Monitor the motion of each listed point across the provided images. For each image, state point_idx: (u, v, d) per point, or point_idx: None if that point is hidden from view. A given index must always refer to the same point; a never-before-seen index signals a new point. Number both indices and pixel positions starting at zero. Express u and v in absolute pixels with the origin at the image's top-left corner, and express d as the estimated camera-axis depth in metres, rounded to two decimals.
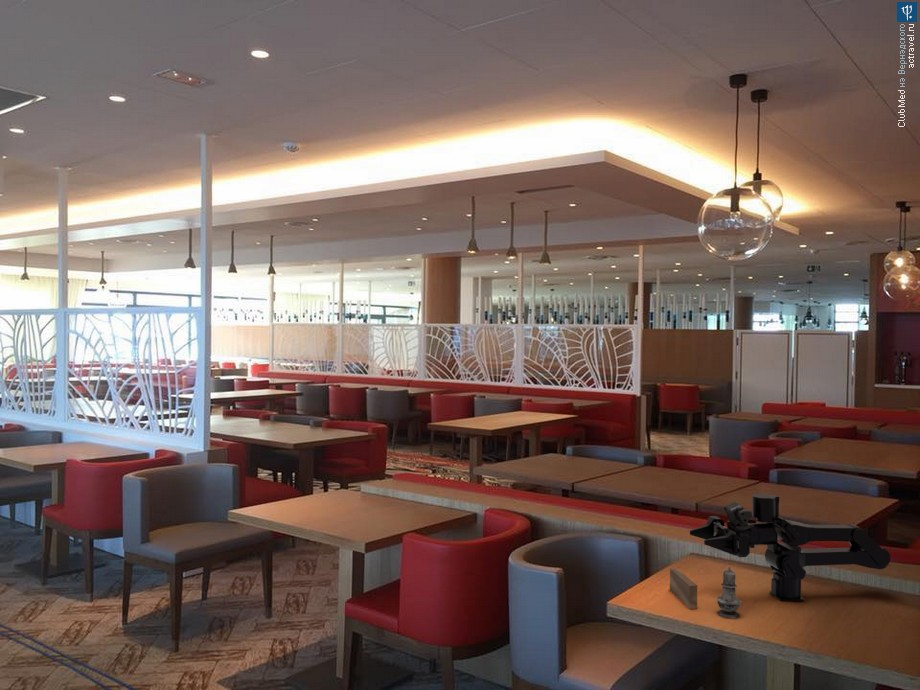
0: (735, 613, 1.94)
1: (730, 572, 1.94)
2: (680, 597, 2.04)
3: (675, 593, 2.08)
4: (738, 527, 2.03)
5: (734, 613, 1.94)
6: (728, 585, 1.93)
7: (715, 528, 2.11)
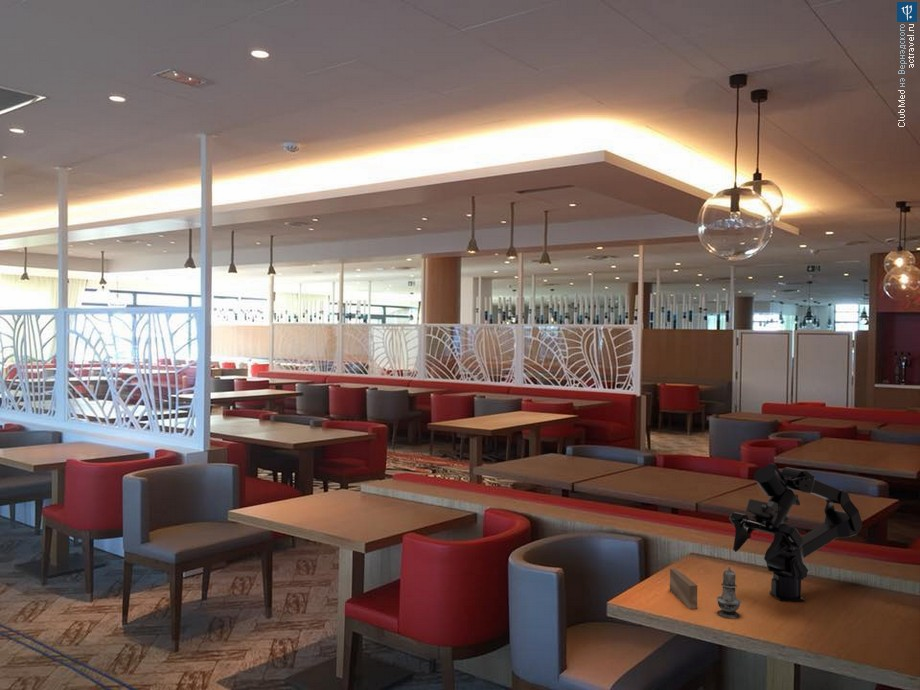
0: (735, 613, 1.94)
1: (730, 572, 1.94)
2: (680, 597, 2.04)
3: (675, 593, 2.08)
4: (772, 519, 1.99)
5: (734, 613, 1.94)
6: (728, 585, 1.93)
7: (744, 525, 2.06)
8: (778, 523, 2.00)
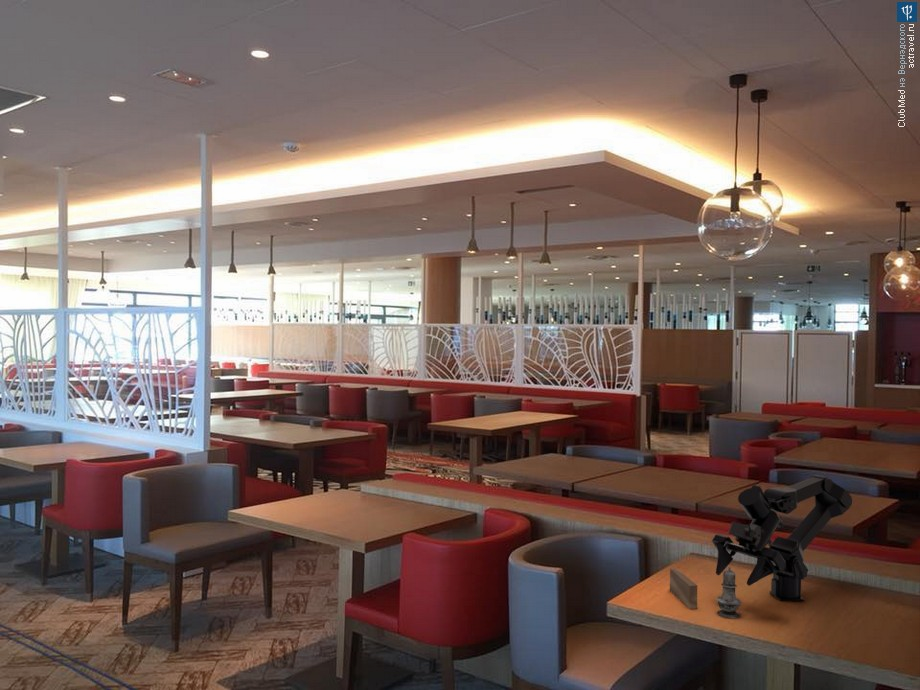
0: (735, 613, 1.94)
1: (730, 572, 1.94)
2: (680, 597, 2.04)
3: (675, 593, 2.08)
4: (755, 543, 1.95)
5: (734, 613, 1.94)
6: (728, 585, 1.93)
7: (727, 548, 2.02)
8: (761, 546, 1.97)
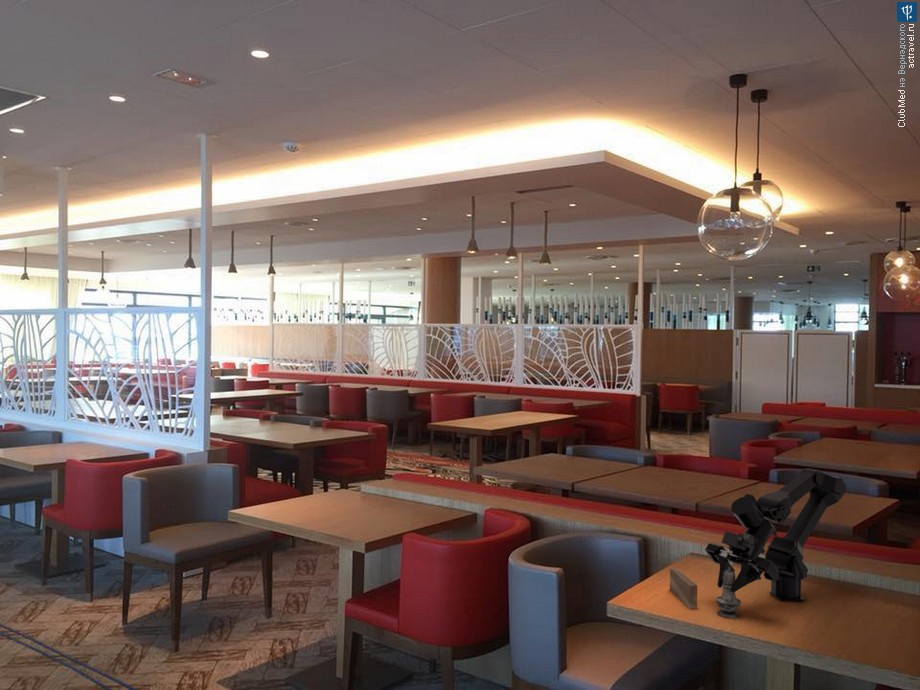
0: (735, 613, 1.94)
1: (730, 572, 1.94)
2: (680, 597, 2.04)
3: (675, 593, 2.08)
4: (748, 552, 1.94)
5: (734, 613, 1.94)
6: (728, 585, 1.93)
7: (729, 560, 1.99)
8: (754, 555, 1.95)
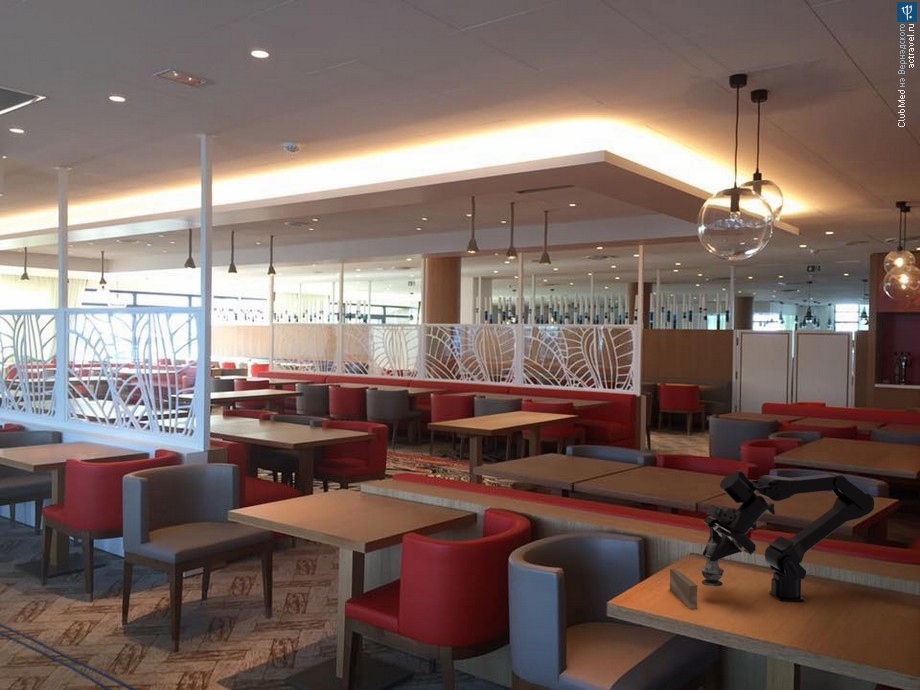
0: (717, 582, 2.03)
1: (711, 542, 2.03)
2: (680, 597, 2.04)
3: (675, 593, 2.08)
4: (730, 525, 2.02)
5: (716, 582, 2.03)
6: (708, 555, 2.03)
7: (719, 532, 2.08)
8: (739, 529, 2.02)
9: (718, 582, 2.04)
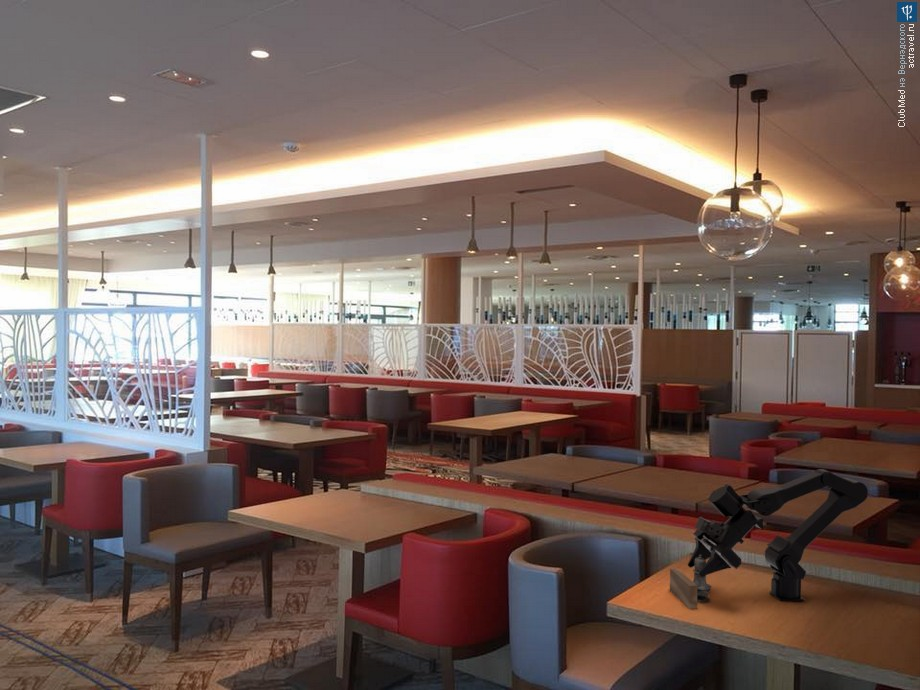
0: (705, 599, 2.04)
1: (699, 559, 2.04)
2: (680, 597, 2.04)
3: (675, 593, 2.08)
4: (718, 539, 2.02)
5: (703, 598, 2.04)
6: (696, 571, 2.04)
7: (705, 544, 2.10)
8: (727, 543, 2.03)
9: (705, 598, 2.04)
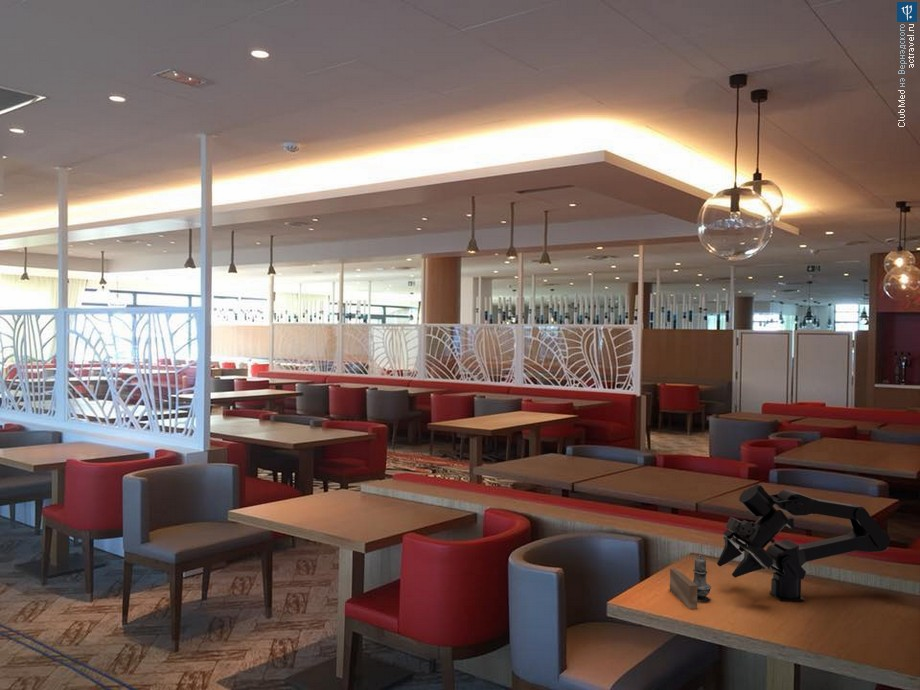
0: (705, 599, 2.04)
1: (699, 559, 2.04)
2: (680, 597, 2.04)
3: (675, 593, 2.08)
4: (749, 538, 2.03)
5: (703, 598, 2.04)
6: (696, 571, 2.04)
7: (734, 543, 2.12)
8: (758, 543, 2.04)
9: (705, 598, 2.04)
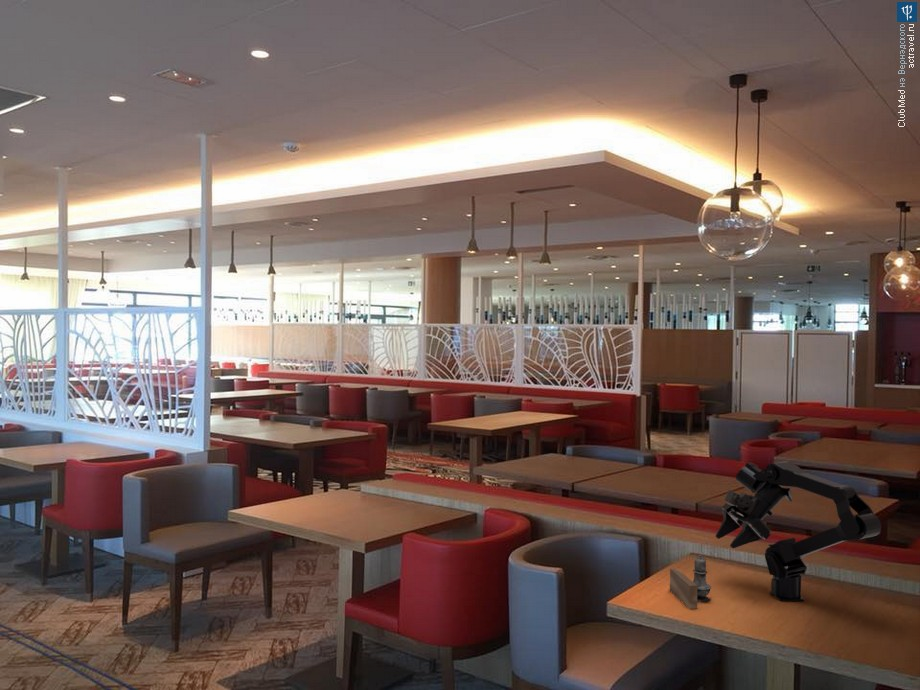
0: (705, 599, 2.04)
1: (699, 559, 2.04)
2: (680, 597, 2.04)
3: (675, 593, 2.08)
4: (747, 511, 2.08)
5: (703, 598, 2.04)
6: (696, 571, 2.04)
7: (732, 516, 2.17)
8: (756, 515, 2.09)
9: (705, 598, 2.04)
